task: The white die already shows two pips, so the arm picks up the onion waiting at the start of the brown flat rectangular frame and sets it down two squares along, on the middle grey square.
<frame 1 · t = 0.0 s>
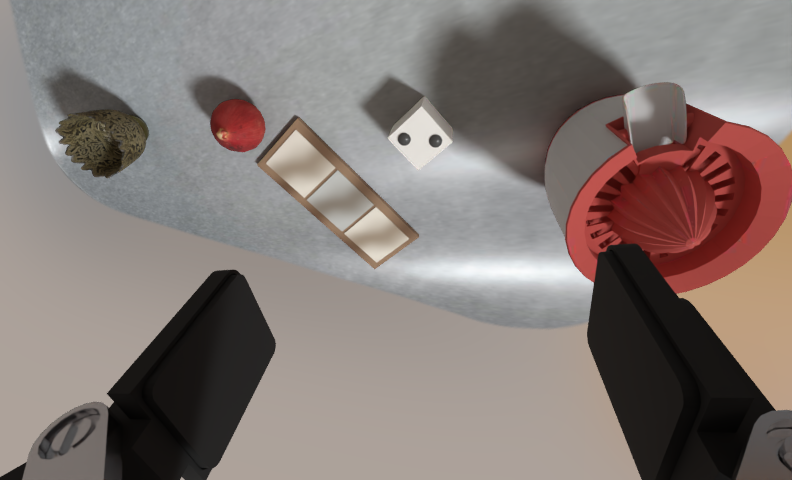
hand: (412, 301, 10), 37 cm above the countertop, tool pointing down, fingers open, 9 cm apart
citrus juicer: (599, 141, 43), on the countertop
die: (422, 126, 45), on the countertop
onion: (253, 117, 47), on the countertop
brown flat rectangular frame: (341, 200, 51), on the countertop
cup: (139, 127, 49), on the countertop
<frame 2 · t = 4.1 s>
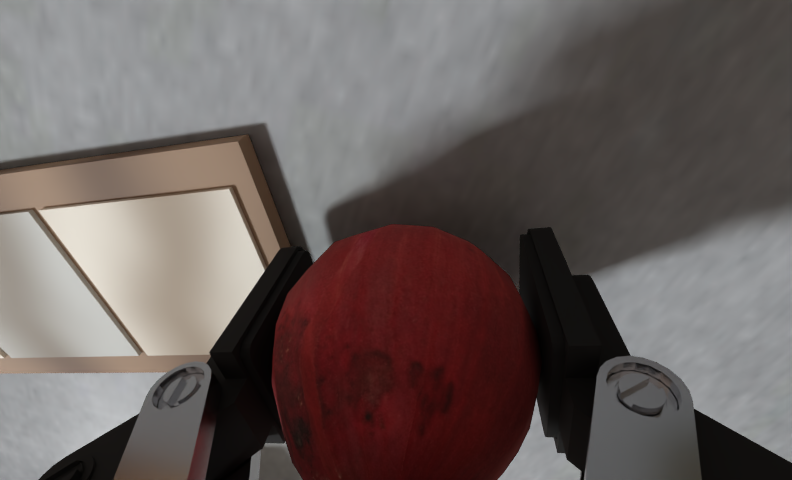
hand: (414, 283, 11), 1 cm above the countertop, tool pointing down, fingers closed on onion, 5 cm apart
onion: (417, 255, 12), on the countertop, touching gripper
brown flat rectangular frame: (36, 284, 15), on the countertop
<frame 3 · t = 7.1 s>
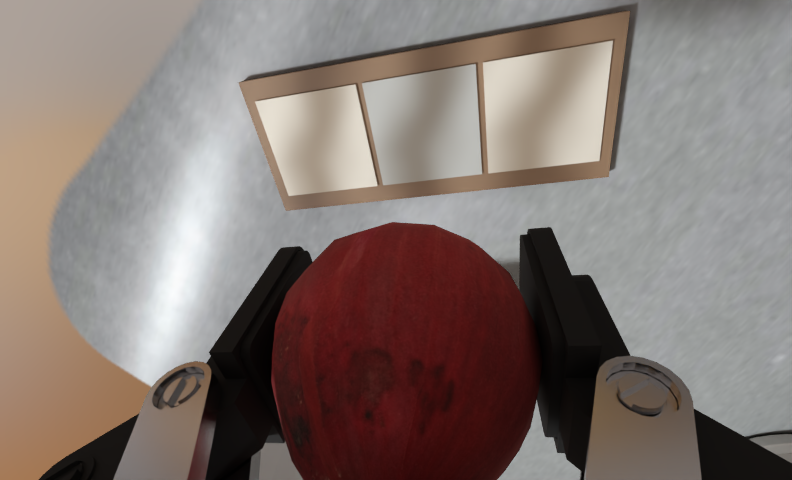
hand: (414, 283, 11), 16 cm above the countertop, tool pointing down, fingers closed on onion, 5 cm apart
citrus juicer: (327, 402, 42), on the countertop
onion: (417, 254, 12), point 14 cm above the countertop, touching gripper
brown flat rectangular frame: (425, 127, 24), on the countertop
when the fingers open (3 cm above the countertop, at t = 10.4 s): onion stays where it is, resting on brown flat rectangular frame.
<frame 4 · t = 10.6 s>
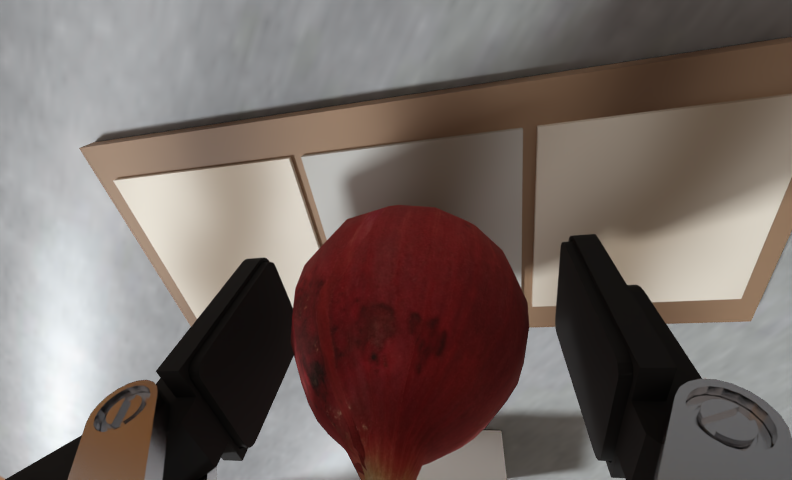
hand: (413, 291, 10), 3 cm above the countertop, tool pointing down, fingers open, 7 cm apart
die: (456, 455, 21), on the countertop
onion: (422, 238, 13), point 1 cm above the countertop, touching brown flat rectangular frame
brown flat rectangular frame: (421, 227, 13), on the countertop
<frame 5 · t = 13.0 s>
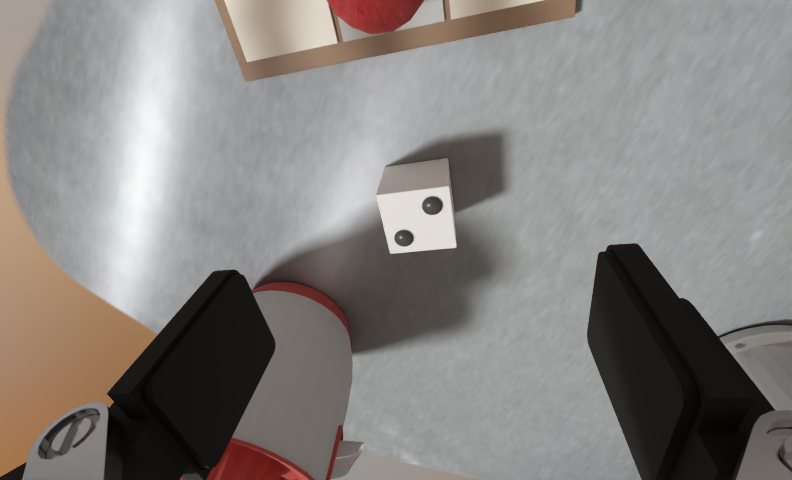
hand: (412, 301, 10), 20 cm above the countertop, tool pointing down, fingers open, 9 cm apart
citrus juicer: (305, 320, 41), on the countertop
die: (420, 190, 31), on the countertop
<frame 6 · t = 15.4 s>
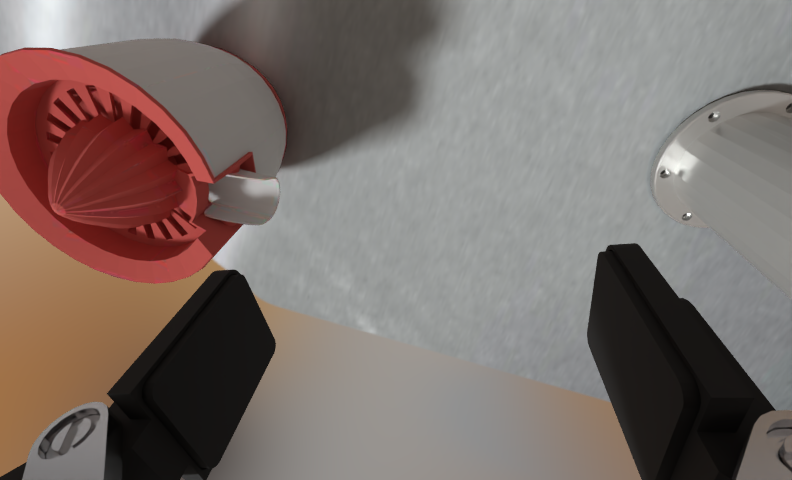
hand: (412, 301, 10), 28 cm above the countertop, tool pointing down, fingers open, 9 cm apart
citrus juicer: (241, 118, 38), on the countertop
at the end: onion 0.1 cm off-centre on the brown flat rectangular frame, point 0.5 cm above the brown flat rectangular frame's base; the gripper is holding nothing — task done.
